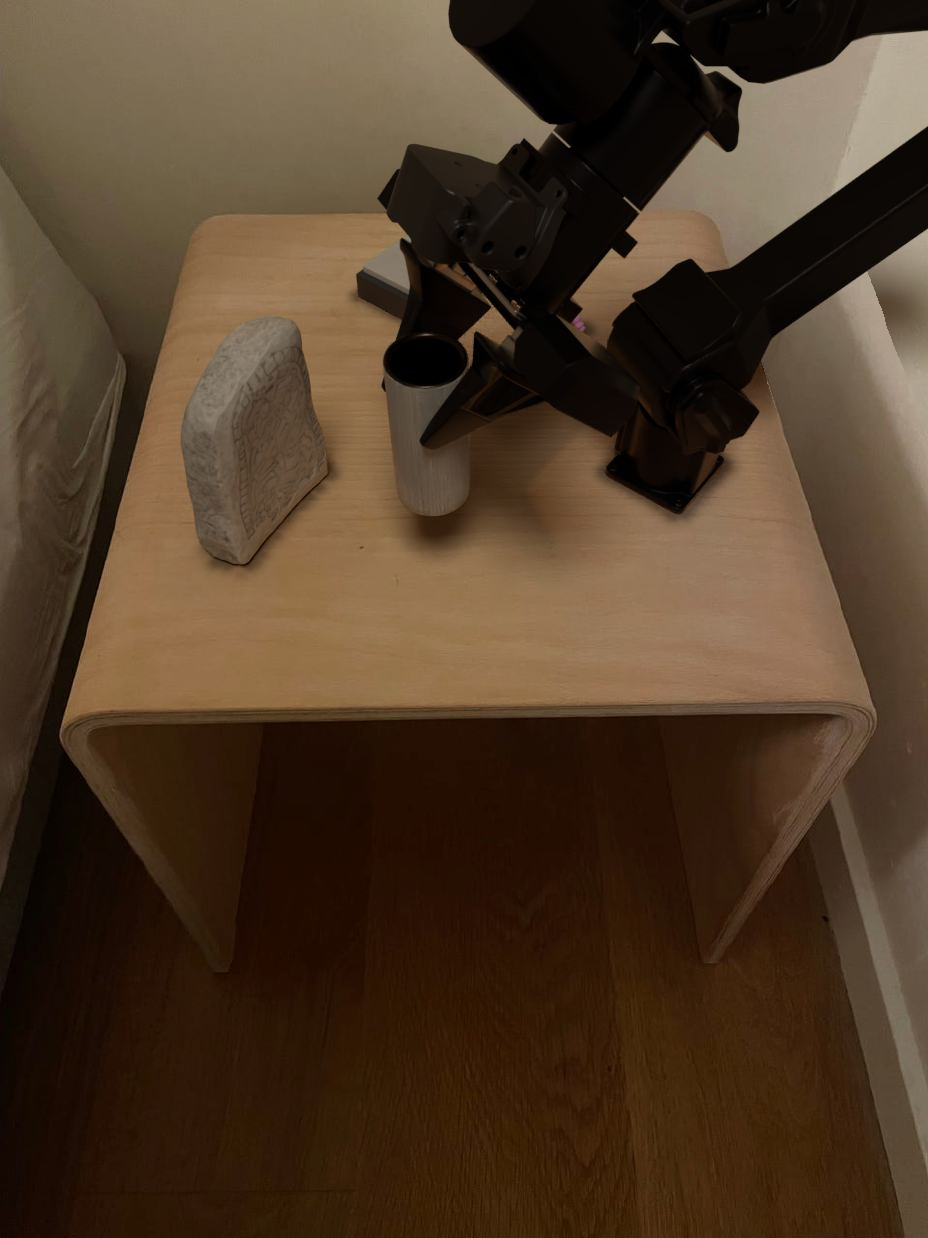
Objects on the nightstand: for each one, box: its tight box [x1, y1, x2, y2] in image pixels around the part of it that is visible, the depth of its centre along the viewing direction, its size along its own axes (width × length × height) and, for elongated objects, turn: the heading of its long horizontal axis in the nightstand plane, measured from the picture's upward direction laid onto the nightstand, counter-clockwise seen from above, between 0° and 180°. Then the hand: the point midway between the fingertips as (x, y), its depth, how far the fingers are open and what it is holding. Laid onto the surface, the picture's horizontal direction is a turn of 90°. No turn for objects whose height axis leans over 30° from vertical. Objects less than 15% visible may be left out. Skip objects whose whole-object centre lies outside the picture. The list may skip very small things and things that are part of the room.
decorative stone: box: [180, 315, 329, 565], centre depth 58 cm, size 11×6×15 cm, turn 153°
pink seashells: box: [571, 314, 586, 333], centre depth 75 cm, size 3×2×2 cm
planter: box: [382, 331, 471, 517], centre depth 52 cm, size 4×4×10 cm
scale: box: [355, 234, 483, 320], centre depth 76 cm, size 8×8×3 cm
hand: (406, 418), depth 50 cm, fingers closed on planter, 4 cm apart
